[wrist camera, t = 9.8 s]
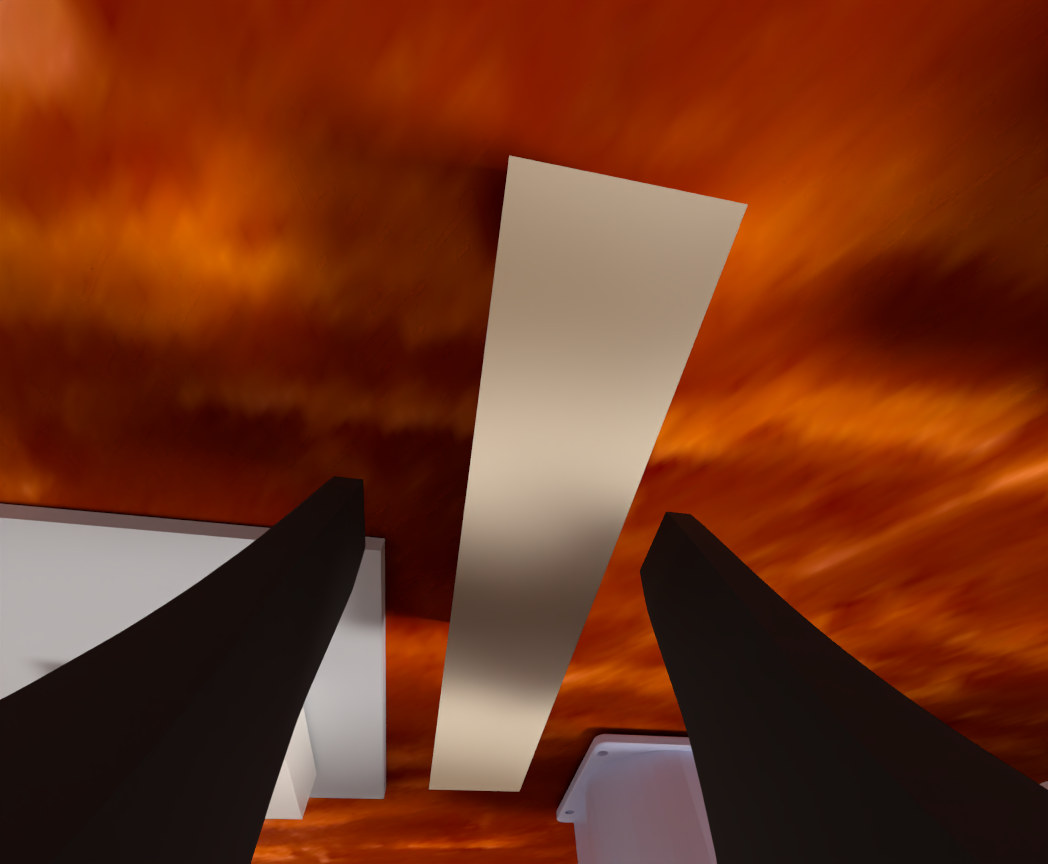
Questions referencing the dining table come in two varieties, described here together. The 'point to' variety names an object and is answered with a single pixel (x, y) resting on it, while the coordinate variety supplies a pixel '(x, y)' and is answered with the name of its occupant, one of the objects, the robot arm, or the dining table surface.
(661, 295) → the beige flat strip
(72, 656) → the mat
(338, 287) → the dining table surface
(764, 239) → the dining table surface
